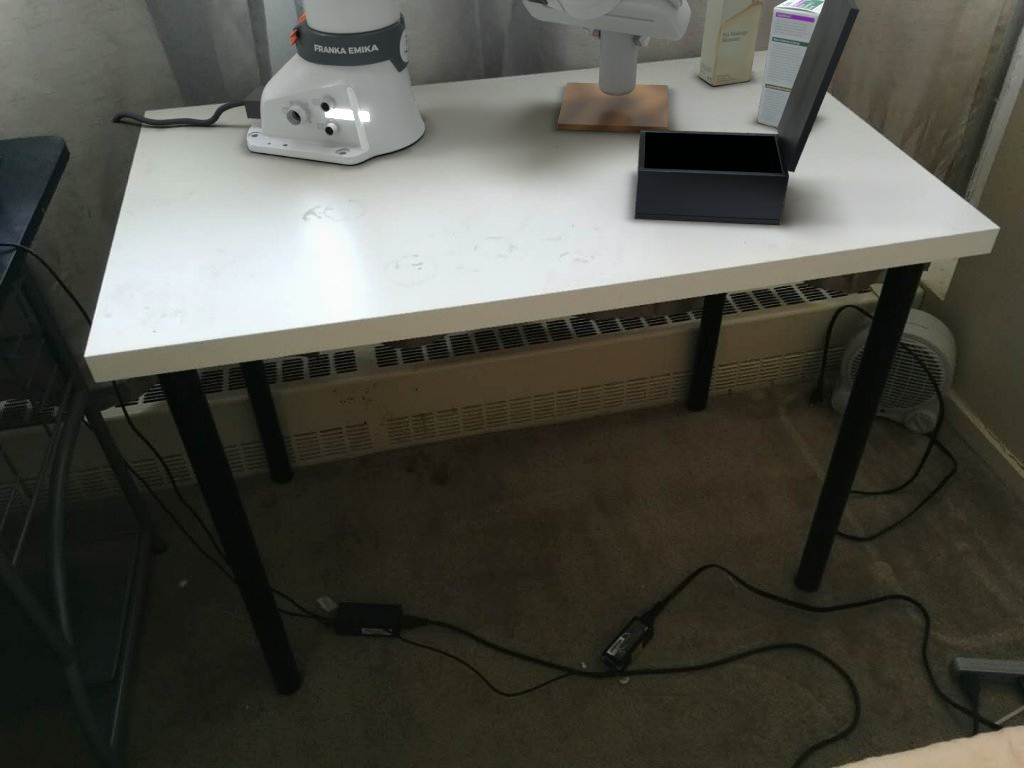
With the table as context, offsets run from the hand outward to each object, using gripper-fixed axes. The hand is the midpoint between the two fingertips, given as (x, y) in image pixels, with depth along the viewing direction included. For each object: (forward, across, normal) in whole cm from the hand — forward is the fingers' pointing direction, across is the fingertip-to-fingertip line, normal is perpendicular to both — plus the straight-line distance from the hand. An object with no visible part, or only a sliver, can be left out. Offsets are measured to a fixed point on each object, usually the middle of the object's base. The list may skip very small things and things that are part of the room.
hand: (620, 37), depth 109 cm
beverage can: (+4, 0, +5) cm, 7 cm away
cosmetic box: (+18, -9, -5) cm, 21 cm away
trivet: (+6, 0, +7) cm, 9 cm away
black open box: (-7, -19, +20) cm, 28 cm away
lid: (-14, -27, +8) cm, 32 cm away
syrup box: (+11, -21, +3) cm, 24 cm away
